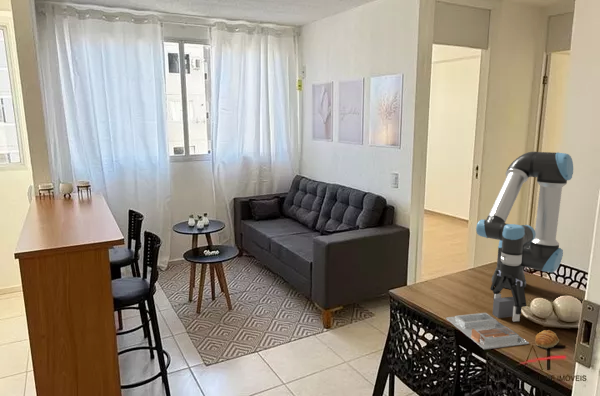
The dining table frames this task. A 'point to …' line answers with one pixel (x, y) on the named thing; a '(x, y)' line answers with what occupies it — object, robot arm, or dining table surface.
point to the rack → (486, 331)
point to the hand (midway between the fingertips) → (505, 314)
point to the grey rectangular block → (503, 307)
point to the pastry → (546, 339)
